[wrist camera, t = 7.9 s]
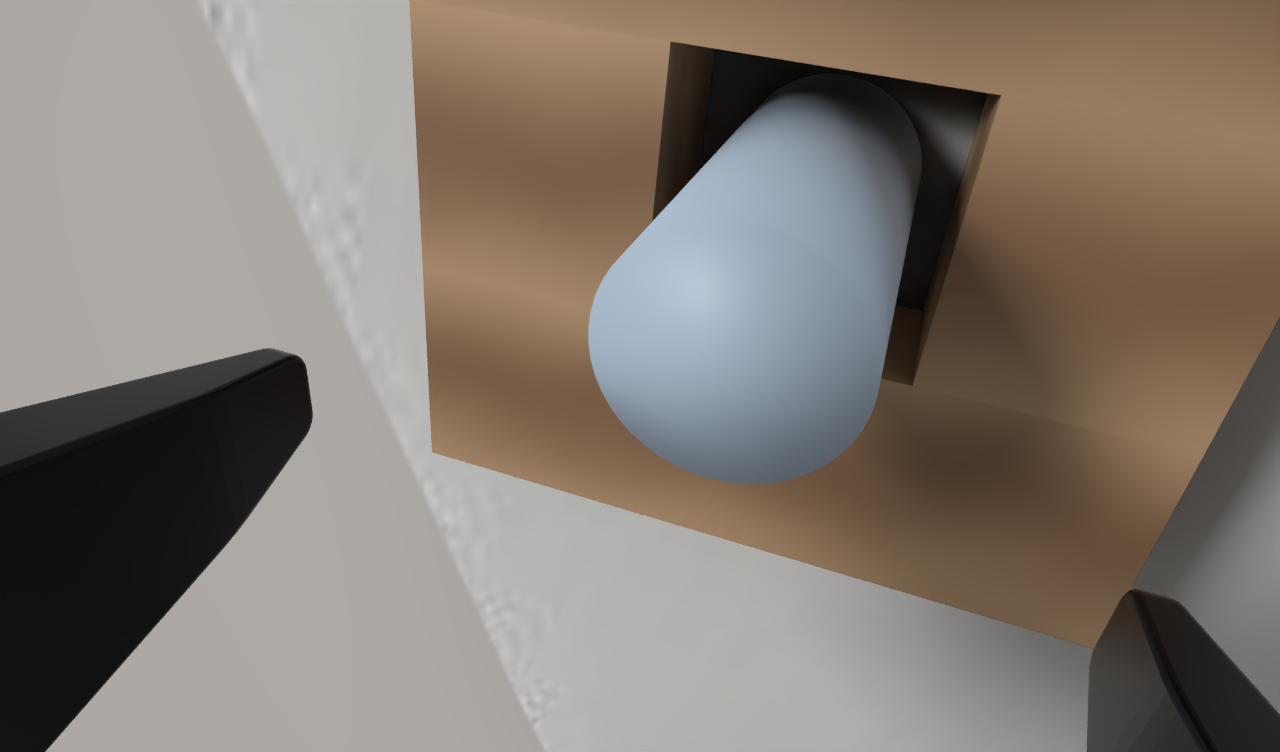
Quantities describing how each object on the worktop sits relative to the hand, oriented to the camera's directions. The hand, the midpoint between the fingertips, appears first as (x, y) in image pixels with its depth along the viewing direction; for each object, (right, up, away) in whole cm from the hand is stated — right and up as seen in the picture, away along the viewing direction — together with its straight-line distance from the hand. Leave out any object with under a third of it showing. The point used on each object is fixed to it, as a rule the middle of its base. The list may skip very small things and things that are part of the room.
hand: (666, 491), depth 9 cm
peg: (+4, +6, +10) cm, 12 cm away
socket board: (+4, +6, +10) cm, 12 cm away
